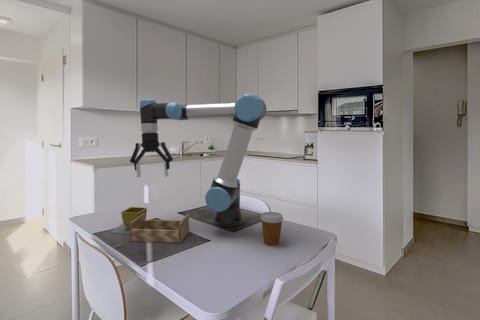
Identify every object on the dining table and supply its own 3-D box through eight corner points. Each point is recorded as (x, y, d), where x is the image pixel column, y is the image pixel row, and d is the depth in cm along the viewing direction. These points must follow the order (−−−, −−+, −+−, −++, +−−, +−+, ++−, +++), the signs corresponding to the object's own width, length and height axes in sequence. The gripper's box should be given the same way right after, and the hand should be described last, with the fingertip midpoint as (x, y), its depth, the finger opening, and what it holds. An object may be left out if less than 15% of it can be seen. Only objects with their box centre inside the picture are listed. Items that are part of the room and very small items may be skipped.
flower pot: (138, 231, 135) (138, 212, 134) (121, 230, 136) (120, 211, 135) (147, 225, 143) (147, 207, 142) (131, 224, 145) (130, 206, 144)
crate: (189, 231, 137) (188, 214, 136) (180, 242, 123) (180, 224, 122) (143, 229, 138) (142, 213, 138) (130, 241, 124) (129, 222, 124)
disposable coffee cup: (277, 248, 117) (277, 219, 115) (256, 243, 122) (256, 215, 120) (286, 241, 125) (286, 213, 123) (266, 236, 130) (266, 210, 128)
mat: (148, 224, 146) (148, 223, 146) (137, 234, 133) (137, 233, 133) (123, 224, 147) (123, 223, 147) (109, 233, 134) (109, 232, 134)
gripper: (177, 131, 143) (180, 174, 145) (127, 133, 144) (130, 176, 146) (173, 131, 135) (176, 176, 137) (120, 133, 136) (124, 178, 138)
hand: (152, 176), depth 141 cm, fingers open, 13 cm apart
